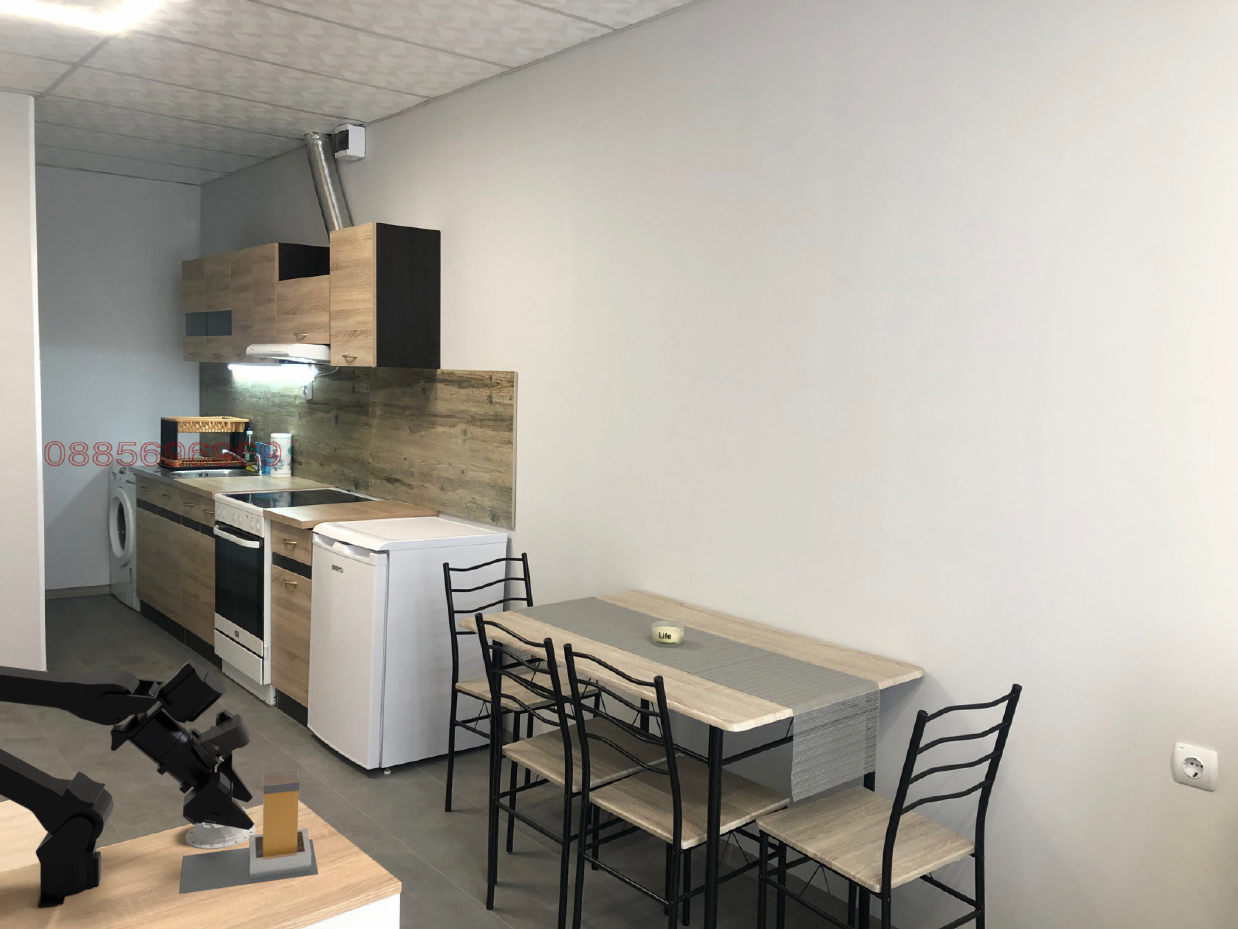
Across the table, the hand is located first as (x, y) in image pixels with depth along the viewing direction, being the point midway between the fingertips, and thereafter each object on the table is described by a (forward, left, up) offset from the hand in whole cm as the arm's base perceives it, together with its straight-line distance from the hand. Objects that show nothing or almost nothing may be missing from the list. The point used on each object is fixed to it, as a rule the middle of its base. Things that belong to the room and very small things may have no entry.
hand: (250, 813), depth 136 cm
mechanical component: (-4, +11, -9) cm, 15 cm away
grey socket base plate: (0, 0, -9) cm, 9 cm away
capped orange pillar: (+4, 0, -8) cm, 9 cm away
